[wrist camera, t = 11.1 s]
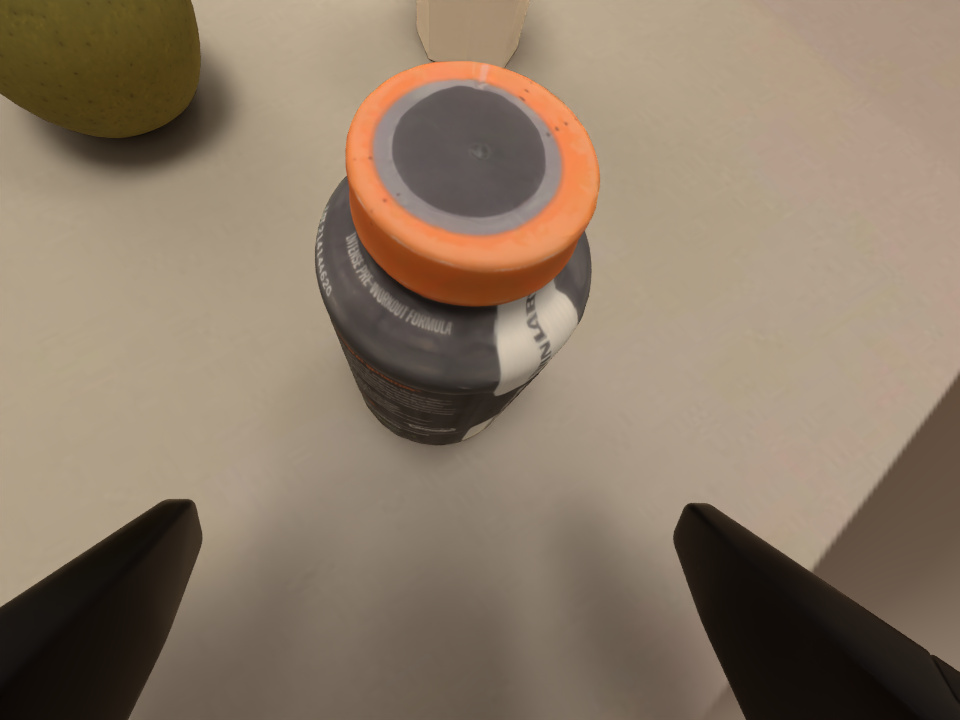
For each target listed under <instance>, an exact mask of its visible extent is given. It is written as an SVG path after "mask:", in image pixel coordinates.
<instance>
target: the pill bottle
mask: <svg viewBox="0 0 960 720" xmlns="http://www.w3.org/2000/svg"><path fill="white" fill-rule="evenodd" d="M346 172H347V176H346V177H345V178H344V179H343V180H342V181H341V183H340V184H339V185H338V187H337V188H336V190H335V191H334V193H333V194H332V196H331V197H330V199H329V201H328V203H327V205H326V208H325V210H324V212H323V215H322V218H321V220H320V223H319V227H318V232H317V238H316V246H315V266H316V275H317V280H318V285H319V289H320V292H321V295H322V298H323V302H324V304H325V307H326V309H327V311H328V314H329V316H330V319H331V322H332V324H333V326H334V329H335V331H336V334H337V336H338V339H339V341H340V344H341V347H342V349H343V351H344V354H345V356H346V359H347V361H348V364H349V366H350V368H351V371H352V373H353V376H354V378H355V380H356V383H357V385H358V388H359V390H360V391H361V393H362V396H363V398H364V400H365V403H366V405H367V406H368V408H369V409H370V410H371V412H372V413H373V414H374V415H375V416H376V418H377V419H378V420H379V421H380V422H381V423H382V424H383V425H384V426H386V427H387V428H388V429H390V430H391V431H392V432H394V433H395V434H397V435H399V436H401V437H405V438H407V439H410V440H412V441H415V442H419V443H424V444H434V445H444V444H451V443H456V442H460V441H462V440H465V439H467V438H469V437H472V436H474V435H475V434H477V433H479V432H480V431H482V430H483V429H485V428H486V427H487V426H488V425H490V424H491V423H492V422H493V421H494V420H495V419H496V418H497V417H498V415H499V414H500V413H501V412H502V411H503V410H504V409H505V408H506V407H507V406H508V405H509V404H510V403H511V402H512V401H513V400H514V399H515V398H516V397H517V396H518V395H519V393H520V392H521V391H522V390H523V389H524V388H525V387H526V386H527V385H528V384H529V383H530V382H531V381H532V380H533V379H534V378H535V377H536V376H537V375H538V374H539V372H540V371H541V370H542V369H543V368H544V367H545V366H546V365H547V363H548V362H549V361H550V360H551V359H552V358H553V356H554V355H555V354H556V353H557V352H558V351H559V350H560V349H561V348H562V346H563V345H564V344H565V343H566V342H567V340H568V339H569V337H570V336H571V334H572V333H573V331H574V330H575V328H576V327H577V325H578V324H579V322H580V320H581V318H582V316H583V313H584V310H585V306H586V303H587V300H588V297H589V291H590V283H591V256H590V248H589V244H588V240H587V236H586V233H585V229H586V228H587V226H588V224H589V222H590V220H591V218H592V216H593V214H594V211H595V208H596V203H597V198H598V193H599V187H600V173H599V165H598V160H597V157H596V153H595V150H594V147H593V145H592V143H591V140H590V138H589V136H588V133H587V132H586V130H585V128H584V127H583V126H582V124H581V123H580V121H579V120H578V119H577V117H576V116H575V115H574V113H573V112H572V111H571V110H570V109H569V108H568V107H567V106H566V105H565V104H564V103H563V102H562V101H561V100H560V99H559V98H558V97H556V96H555V95H553V94H552V93H550V92H549V91H548V90H547V89H546V88H544V87H542V86H541V85H539V84H537V83H536V82H534V81H532V80H531V79H529V78H527V77H525V76H522V75H520V74H517V73H515V72H512V71H510V70H507V69H505V68H501V67H498V66H495V65H491V64H485V63H479V62H472V61H445V62H433V63H428V64H424V65H421V66H417V67H414V68H411V69H409V70H405V71H403V72H401V73H399V74H397V75H395V76H393V77H392V78H390V79H388V80H387V81H385V82H384V83H382V84H381V85H380V86H379V87H378V88H377V89H376V90H375V91H373V92H372V93H371V94H370V95H369V96H368V97H367V98H366V99H365V100H364V101H363V103H362V104H361V106H360V107H359V109H358V110H357V112H356V114H355V116H354V118H353V121H352V123H351V126H350V129H349V132H348V135H347V142H346Z"/></svg>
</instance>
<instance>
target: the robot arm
mask: <svg viewBox="0 0 960 720" xmlns="http://www.w3.org/2000/svg"><path fill="white" fill-rule="evenodd" d="M673 541H674V546H675V549H676V552H677V554H678V557H679V560H680V563H681V566H682V569H683V571H684V574H685V577H686V580H687V583H688V586H689V588H690V591H691V594H692V597H693V600H694V603H695V605H696V608H697V611H698V614H699V616H700V619H701V621H702V624H703V626H704V629H705V631H706V633H707V636H708V638H709V640H710V642H711V644H712V647H713V649H714V651H715V653H716V655H717V657H718V660H719V662H720V664H721V666H722V668H723V671H724V673H725V675H726V677H727V679H728V681H729V684H730V686H731V688H732V690H733V692H734V694H735V697H736V699H737V701H738V703H739V705H740V708H741V710H742V712H743V714H744V716H745V719H746V720H960V672H959V671H957V670H955V669H954V668H953V667H951V666H950V665H948V664H947V663H945V662H944V661H942V660H941V659H939V658H938V657H937V656H935V655H930V653H929V652H928V651H927V650H926V649H924V648H923V647H921V646H920V645H918V644H917V643H915V642H914V641H912V640H911V639H909V638H908V637H907V636H905V635H904V634H902V633H901V632H899V631H897V630H896V629H895V628H893V627H892V626H890V625H889V624H887V623H885V622H884V621H883V620H881V619H879V618H878V617H877V616H875V615H874V614H872V613H871V612H869V611H868V610H866V609H865V608H863V607H862V606H860V605H859V604H857V603H856V602H855V601H853V600H852V599H850V598H849V597H847V596H846V595H844V594H843V593H841V592H840V591H838V590H837V589H835V588H834V587H832V586H831V585H829V584H827V583H826V582H825V581H823V580H822V579H820V578H819V577H817V576H816V575H814V574H813V573H811V572H810V571H808V570H807V569H805V568H804V567H802V566H801V565H799V564H798V563H797V562H795V561H794V560H792V559H791V558H789V557H788V556H786V555H785V554H783V553H782V552H780V551H779V550H777V549H776V548H774V547H773V546H771V545H770V544H768V543H767V542H765V541H764V540H762V539H761V538H759V537H758V536H756V535H755V534H753V533H752V532H750V531H749V530H747V529H746V528H744V527H743V526H741V525H740V524H739V523H737V522H736V521H734V520H733V519H731V518H730V517H728V516H727V515H725V514H724V513H722V512H721V511H719V510H718V509H716V508H715V507H713V506H712V505H710V504H706V503H689V504H687V505H686V506H685V507H684V509H683V511H682V514H681V516H680V519H679V521H678V523H677V526H676V528H675V531H674V535H673ZM201 544H202V530H201V526H200V521H199V517H198V513H197V509H196V505H195V503H194V502H193V501H192V500H189V499H167V500H164V501H162V502H160V503H158V504H157V505H155V506H154V507H152V508H151V509H149V510H148V511H146V512H145V513H143V514H142V515H140V516H139V517H137V518H136V519H134V520H132V521H131V522H129V523H128V524H126V525H125V526H123V527H122V528H120V529H119V530H117V531H116V532H114V533H113V534H111V535H110V536H108V537H107V538H105V539H104V540H102V541H101V542H99V543H97V544H96V545H94V546H93V547H91V548H90V549H88V550H87V551H85V552H84V553H82V554H81V555H79V556H78V557H76V558H75V559H73V560H72V561H70V562H69V563H67V564H66V565H64V566H62V567H61V568H59V569H58V570H56V571H55V572H53V573H52V574H50V575H49V576H47V577H46V578H44V579H43V580H41V581H40V582H38V583H37V584H35V585H34V586H32V587H30V588H29V589H27V590H26V591H24V592H23V593H21V594H20V595H18V596H17V597H15V598H14V599H12V600H11V601H9V602H8V603H6V604H5V605H3V606H2V607H0V720H128V718H129V716H130V714H131V712H132V710H133V708H134V706H135V704H136V702H137V700H138V698H139V696H140V694H141V692H142V690H143V688H144V686H145V684H146V682H147V680H148V677H149V675H150V673H151V671H152V669H153V667H154V665H155V663H156V661H157V659H158V657H159V655H160V653H161V650H162V648H163V646H164V644H165V642H166V639H167V637H168V634H169V632H170V629H171V627H172V624H173V621H174V619H175V616H176V613H177V610H178V608H179V605H180V602H181V600H182V597H183V594H184V592H185V589H186V586H187V583H188V581H189V578H190V575H191V573H192V570H193V567H194V564H195V562H196V559H197V556H198V554H199V551H200V548H201Z"/></svg>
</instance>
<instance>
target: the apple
mask: <svg viewBox="0 0 960 720" xmlns="http://www.w3.org/2000/svg"><path fill="white" fill-rule="evenodd" d="M200 66H201V56H200V41H199V33H198V27H197V22H196V18H195V13H194V9H193V5H192V2H191V0H0V94H2V95H3V96H5V97H6V98H8V99H9V100H11V101H12V102H14V103H15V104H17V105H18V106H20V107H22V108H24V109H26V110H27V111H29V112H31V113H33V114H35V115H36V116H38V117H40V118H42V119H44V120H46V121H48V122H51V123H53V124H56V125H58V126H61V127H63V128H66V129H69V130H72V131H75V132H79V133H83V134H87V135H92V136H97V137H107V138H125V137H131V136H136V135H140V134H143V133H147V132H150V131H152V130H155V129H157V128H159V127H161V126H163V125H165V124H167V123H169V122H170V121H172V120H173V119H174V118H176V117H177V116H178V115H179V114H181V113H182V112H183V111H184V110H185V109H186V108H187V106H188V105H189V104H190V102H191V101H192V99H193V97H194V94H195V91H196V88H197V85H198V82H199V77H200Z"/></svg>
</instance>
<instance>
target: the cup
mask: <svg viewBox="0 0 960 720" xmlns="http://www.w3.org/2000/svg"><path fill="white" fill-rule="evenodd" d="M416 1H417V31H418V34H419V36H420V39H421V41H422V44H423V46H424V49H425V51H426V54H427V56H428V58H429V59H431V60H433V61H435V62H445V61H472V62H479V63H485V64H491V65H495V66H498V67H501V68H504V67H505V66H506V64H507V63H508V61H509V60H510V58H511V57H512V55H513V54H514V52H515V51H516V49H517V47H518V43H519V38H520V34H521V30H522V26H523V23H524V19H525V16H526V13H527V9H528V6H529V2H530V0H416Z"/></svg>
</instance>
